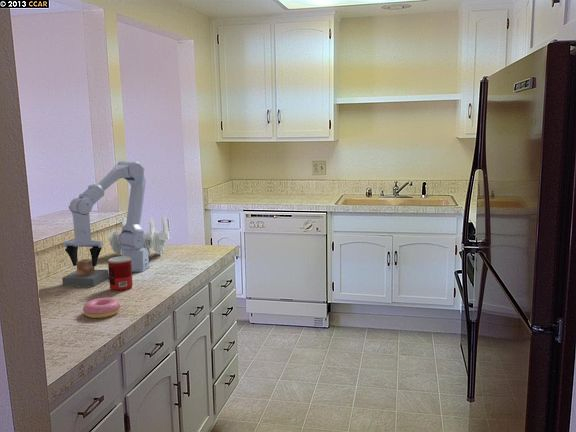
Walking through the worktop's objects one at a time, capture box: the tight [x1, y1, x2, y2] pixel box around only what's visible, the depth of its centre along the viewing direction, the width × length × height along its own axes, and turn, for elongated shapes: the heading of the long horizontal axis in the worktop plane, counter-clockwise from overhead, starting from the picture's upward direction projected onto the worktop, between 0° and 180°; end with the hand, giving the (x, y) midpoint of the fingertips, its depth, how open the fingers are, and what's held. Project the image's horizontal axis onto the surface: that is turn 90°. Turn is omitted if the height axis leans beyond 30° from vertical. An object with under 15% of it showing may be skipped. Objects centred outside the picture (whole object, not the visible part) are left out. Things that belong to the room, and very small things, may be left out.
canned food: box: [107, 255, 134, 292], centre depth 185 cm, size 8×8×11 cm
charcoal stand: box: [61, 269, 109, 288], centre depth 195 cm, size 12×12×3 cm
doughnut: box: [82, 297, 121, 319], centre depth 161 cm, size 11×11×4 cm
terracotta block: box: [76, 258, 96, 275], centre depth 194 cm, size 4×4×5 cm
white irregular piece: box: [108, 216, 170, 256], centre depth 234 cm, size 18×18×25 cm
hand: (85, 265), depth 194 cm, fingers open, 7 cm apart
